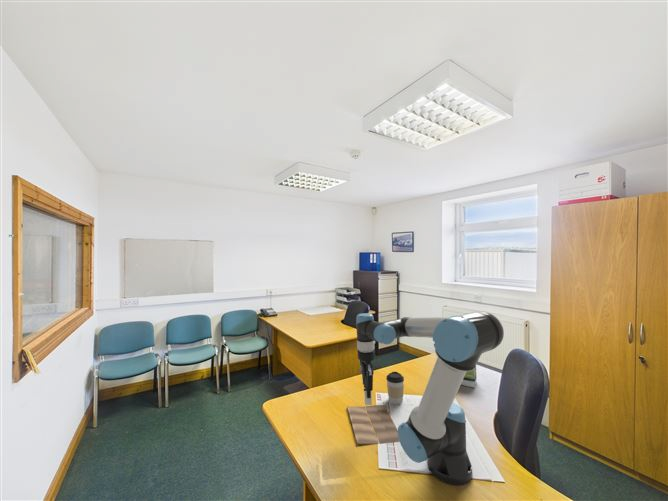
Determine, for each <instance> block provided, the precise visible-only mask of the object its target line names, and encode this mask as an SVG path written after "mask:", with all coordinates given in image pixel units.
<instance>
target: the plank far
mask: <svg viewBox="0 0 668 501" xmlns="http://www.w3.org/2000/svg"><path fill="white" fill-rule="evenodd" d="M346 408H347V413H348V418H349V421H350V424H351V426H352V423H371V420H370V418H369V415H368V412H367V410H366V407H365V406H349V405H347V406H346ZM371 424H372V423H371Z"/></svg>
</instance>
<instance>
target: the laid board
mask: <svg viewBox="0 0 668 501" xmlns="http://www.w3.org/2000/svg"><path fill="white" fill-rule="evenodd" d="M364 407H365V409H366V411H367V414H368V417H369V419H370V422H371V424H372V427H373V429H374V432H375V435H376V437H377V440H378V442H379V444H380V445H381V444H391V443H400V441H399V438H398V428H397V426H396V424H395V423H394V420H393V418H392V417H391V414H390V413H389V411H388V408H387V407H386V405H385V404H380V405H379V404H377V405H365V406H364Z"/></svg>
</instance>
